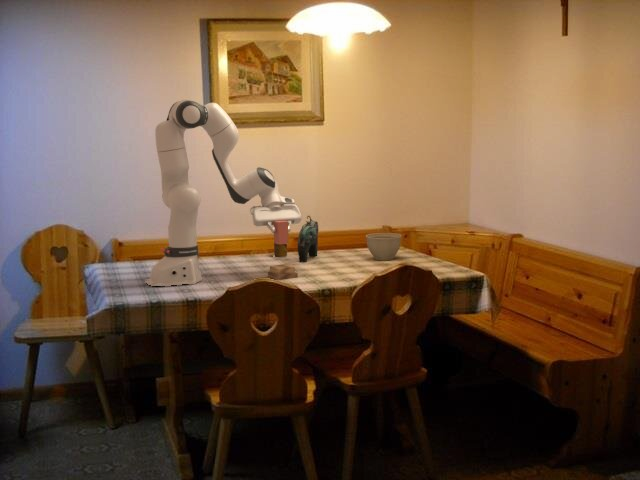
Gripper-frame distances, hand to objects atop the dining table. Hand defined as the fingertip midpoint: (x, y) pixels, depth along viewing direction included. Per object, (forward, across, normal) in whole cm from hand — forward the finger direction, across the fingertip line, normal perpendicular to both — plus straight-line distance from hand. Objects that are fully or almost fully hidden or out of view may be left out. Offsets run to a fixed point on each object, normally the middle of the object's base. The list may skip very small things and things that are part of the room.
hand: (281, 231), depth 309 cm
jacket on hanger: (-12, +25, +39) cm, 48 cm away
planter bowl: (0, +56, +27) cm, 62 cm away
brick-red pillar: (+3, 0, +4) cm, 5 cm away
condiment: (-21, +15, +48) cm, 55 cm away
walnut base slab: (+13, 0, +14) cm, 19 cm away
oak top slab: (+12, 0, +12) cm, 17 cm away
